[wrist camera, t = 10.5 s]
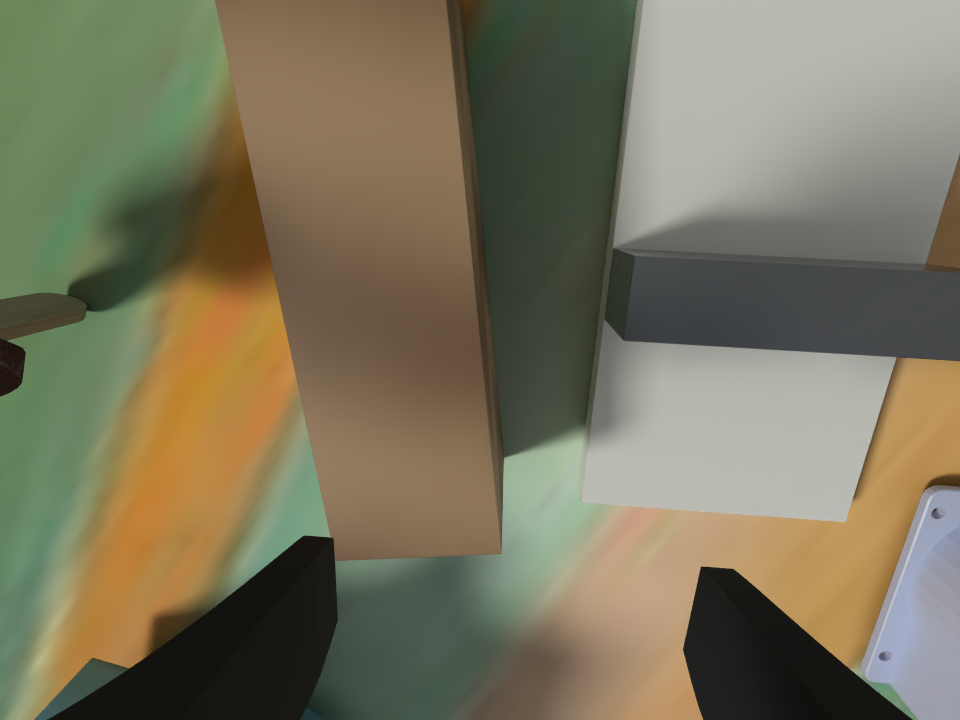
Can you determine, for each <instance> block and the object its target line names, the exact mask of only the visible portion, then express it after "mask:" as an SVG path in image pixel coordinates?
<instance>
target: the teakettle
mask: <svg viewBox="0 0 960 720" xmlns="http://www.w3.org/2000/svg"><path fill="white" fill-rule="evenodd" d="M128 669H129V668H126V667H122V666H119V665H116V664H112V663H109V662H105V661H102V660H99V659H95V658H92V659H91V660H90V661H89V662H88V663H87V664H86V665H85V666H84V667H83V668H82V669H81V670H80V671H79V672H78V673H77V675H76V676H75V677H74V678H73V679H72V680H71V681H70V682H69V683H68V684H67V685H66V686H65V687H64V688H63V690H62V691H61V692H60V693H59V694H58V695H57V696H56V697H55V698H54V699H53V700H52V701H51V702H50V703H49V705H48V706H47V707H46V708H45V709H44V710H43V711H42V712H41V713H40V714H39V715H38V716H37V717H36V718H35V720H47V719H49V718H51V717H53V716H54V715H56V714H58V713H60V712H61V711H63V710H65V709H66V708H68V707H70V706H71V705H73V704H75V703H76V702H78V701H80V700H81V699H83V698H84V697H86V696H88V695H89V694H91V693H92V692H94V691H95V690H97V689H99V688H100V687H102V686H103V685H105V684H106V683H108V682H110V681H111V680H113V679H114V678H116V677H117V676H119V675H121V674H122V673H124V672H125V671H127V670H128ZM301 720H323V719H322V718H321V717H320V716H319V715H317V714H316V713H315V712H313V711H311V710H309V709H305V711H304V713H303V716H302V718H301Z"/></svg>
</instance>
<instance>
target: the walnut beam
mask: <svg viewBox="0 0 960 720" xmlns="http://www.w3.org/2000/svg"><path fill="white" fill-rule="evenodd" d="M215 2H216V7H217V12H218V16H219V21H220V26H221V30H222V35H223V40H224V44H225V49H226V53H227V58H228V63H229V67H230V72H231V77H232V81H233V86H234V91H235V95H236V100H237V105H238V109H239V114H240V118H241V123H242V128H243V132H244V137H245V142H246V146H247V151H248V156H249V160H250V165H251V170H252V174H253V179H254V183H255V188H256V193H257V197H258V202H259V207H260V211H261V216H262V221H263V225H264V230H265V235H266V239H267V244H268V248H269V253H270V258H271V262H272V267H273V272H274V276H275V281H276V286H277V290H278V295H279V300H280V304H281V309H282V313H283V318H284V323H285V327H286V332H287V337H288V341H289V346H290V351H291V355H292V360H293V365H294V369H295V374H296V378H297V383H298V388H299V392H300V397H301V402H302V406H303V411H304V416H305V420H306V425H307V430H308V434H309V439H310V443H311V448H312V453H313V457H314V462H315V467H316V471H317V476H318V481H319V485H320V490H321V494H322V499H323V504H324V508H325V513H326V518H327V522H328V527H329V532H330V536H331V538H334V553H335V559H336V561H344V560H368V559H391V558H414V557H438V556H461V555H485V554H501V549H502V509H503V468H504V456H503V445H502V434H501V423H500V412H499V401H498V391H497V380H496V369H495V358H494V347H493V336H492V326H491V315H490V304H489V293H488V282H487V271H486V261H485V250H484V239H483V228H482V217H481V206H480V196H479V185H478V174H477V163H476V152H475V141H474V131H473V120H472V109H471V98H470V87H469V76H468V66H467V55H466V44H465V33H464V22H463V11H462V1H461V0H215Z"/></svg>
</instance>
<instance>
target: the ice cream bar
mask: <svg viewBox="0 0 960 720" xmlns="http://www.w3.org/2000/svg"><path fill="white" fill-rule="evenodd" d="M86 309H87V306H86V304H85V303H84V302H83V301H81V300H79V299H77V298H74V297H71V296H67V295H62V294H55V293H36V294H30V295H24V296H18V297H13V298H7V299H1V300H0V396H3V395H5V394H8V393H10V392H12V391H13V390H15V389H17V388H18V387H19V386H20V384H21V383H22V379H23V371H24V362H25V354H26V352H25V351H24V349H23V348H22V347H19V346H17V345H15V344H13V343H10V342H8V341H7V340H11V339H15V338H18V337H22V336H26V335H30V334H34V333H38V332H42V331H46V330H49V329H53V328H57V327H61V326H65V325H69V324H73V323H76V322H80V321H82V320H84V318H85V316H86Z"/></svg>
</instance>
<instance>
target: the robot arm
mask: <svg viewBox="0 0 960 720" xmlns="http://www.w3.org/2000/svg"><path fill="white" fill-rule="evenodd" d="M935 508H937V509H936V510H935V511H934V512H932V511H933V510H934V509H935ZM931 512H932V513H931ZM337 621H338V615H337V594H336V574H335V553H334V538H329V537H316V536H303V537H301V538H300V539H299V540H298V541H296V542H295V543H294V544H293V545H291V546H290V547H289V548H288V549H287V550H285V551H284V552H283V553H282V554H280V555H279V556H278V557H277V558H275V559H274V560H273V561H272V562H271V563H269V564H268V565H267V566H266V567H264V568H263V569H262V570H261V571H260V572H258V573H257V574H256V575H255V576H253V577H252V578H251V579H250V580H249V581H247V582H246V583H245V584H244V585H242V586H241V587H240V588H239V589H237V590H236V591H235V592H233V593H232V594H231V595H230V596H228V597H227V598H226V599H225V600H223V601H222V602H221V603H220V604H218V605H217V606H216V607H214V608H213V609H212V610H211V611H209V612H208V613H207V614H205V615H204V616H202V617H201V618H200V619H198V620H197V621H196V622H194V623H193V624H192V625H190V626H189V627H187V628H186V629H185V630H183V631H182V632H181V633H179V634H178V635H177V636H175V637H174V638H172V639H171V640H170V641H168V642H167V643H166V644H164V645H163V646H162V647H160V648H159V649H157V650H156V651H155V652H153V653H152V654H150V655H149V656H147V657H146V658H144V659H143V660H142V661H140V662H139V663H137V664H136V665H134V666H133V667H131V668H130V669H128V670H127V671H125V672H124V673H122V674H121V675H119V676H117V677H116V678H114V679H113V680H111V681H110V682H108V683H106V684H105V685H103V686H102V687H100V688H99V689H97V690H95V691H94V692H92V693H91V694H89V695H88V696H86V697H84V698H83V699H81V700H80V701H78V702H76V703H75V704H73V705H71V706H70V707H68V708H66V709H65V710H63V711H61V712H60V713H58V714H56V715H54V716H53V717H51V718H49V719H47V720H301V718H302V716H303V713H304V711H305V709H306V707H307V704H308V702H309V700H310V697H311V695H312V693H313V691H314V688H315V686H316V684H317V681H318V679H319V677H320V674H321V671H322V668H323V665H324V662H325V659H326V656H327V653H328V650H329V647H330V644H331V641H332V637H333V634H334V631H335V628H336V624H337ZM683 651H684V655H685V659H686V663H687V667H688V670H689V674H690V678H691V682H692V685H693V689H694V692H695V696H696V699H697V703H698V706H699V709H700V712H701V715H702V717H703V720H912V719H911V718H910V717H908V716H907V715H906V714H905V713H903V712H902V711H901V710H900V709H898V708H897V707H896V706H895V705H893V704H892V703H891V702H889V701H888V700H887V699H886V698H884V697H883V696H882V695H881V694H879V693H878V692H877V691H876V690H874V689H873V688H872V687H871V686H869V685H868V684H867V683H866V682H865V681H863V680H862V679H861V678H860V677H859V676H857V675H856V674H855V673H854V672H853V671H851V670H850V669H849V668H848V667H847V666H845V665H844V664H843V663H842V662H841V661H839V660H838V659H837V658H836V657H835V656H834V655H832V654H831V653H830V652H829V651H828V650H827V649H825V648H824V647H823V646H822V645H821V644H820V643H818V642H817V641H816V640H815V639H814V638H813V637H811V636H810V635H809V634H808V633H807V632H806V631H805V630H803V629H802V628H801V627H800V626H799V625H798V624H797V623H795V622H794V621H793V620H792V619H791V618H790V617H789V616H787V615H786V614H785V613H784V612H783V611H782V610H781V609H779V608H778V607H777V606H776V605H775V604H774V603H773V602H772V601H770V600H769V599H768V598H767V597H766V596H765V595H764V594H762V593H761V592H760V591H759V590H758V589H757V588H756V587H754V586H753V585H752V584H751V583H750V582H749V581H747V580H746V579H745V578H744V577H743V576H741V575H740V574H739V573H738V572H736V571H735V570H734V569H726V568H714V567H701V569H700V574H699V578H698V583H697V588H696V592H695V597H694V601H693V606H692V611H691V615H690V620H689V625H688V629H687V634H686V638H685V643H684V648H683ZM861 671H862V673H863V674H864V676H865V677H866V678H867V679H868V680H869V681H872V682H878V683H890V685H891V686H892V688H893V689H894V690H895V691H896V693H897V694H898V695H899V696H900V698H901V699H902V700H903V701H904V702H905V704H906V705H907V706H908V707H909V709H910V710H911V711H912V712H913V714H914V715H915V716H916V717H917V719H918V720H960V487H959V486H945V485H935V486H932V487H929V488H928V489H926V490H925V491H924V493H923V494H922V496H921V499H920V502H919V505H918V508H917V510H916V513H915V516H914V519H913V522H912V524H911V527H910V530H909V533H908V536H907V538H906V541H905V544H904V547H903V550H902V552H901V555H900V558H899V561H898V564H897V566H896V569H895V572H894V575H893V578H892V580H891V583H890V586H889V589H888V592H887V594H886V597H885V600H884V603H883V606H882V608H881V611H880V614H879V617H878V620H877V622H876V625H875V628H874V631H873V634H872V636H871V639H870V642H869V645H868V648H867V650H866V653H865V656H864V659H863V662H862V664H861Z"/></svg>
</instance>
